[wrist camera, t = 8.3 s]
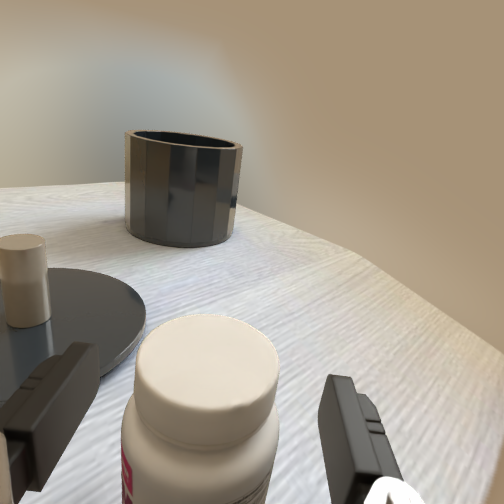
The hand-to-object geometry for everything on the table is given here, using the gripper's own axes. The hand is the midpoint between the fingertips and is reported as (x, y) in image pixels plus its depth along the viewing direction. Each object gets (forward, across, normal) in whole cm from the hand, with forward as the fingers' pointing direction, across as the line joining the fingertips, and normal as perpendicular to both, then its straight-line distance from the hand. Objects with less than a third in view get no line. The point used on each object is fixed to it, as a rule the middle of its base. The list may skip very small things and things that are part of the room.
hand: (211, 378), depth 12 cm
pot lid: (+8, +12, +5) cm, 16 cm away
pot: (+31, +8, +6) cm, 33 cm away
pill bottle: (-2, 0, +6) cm, 6 cm away
